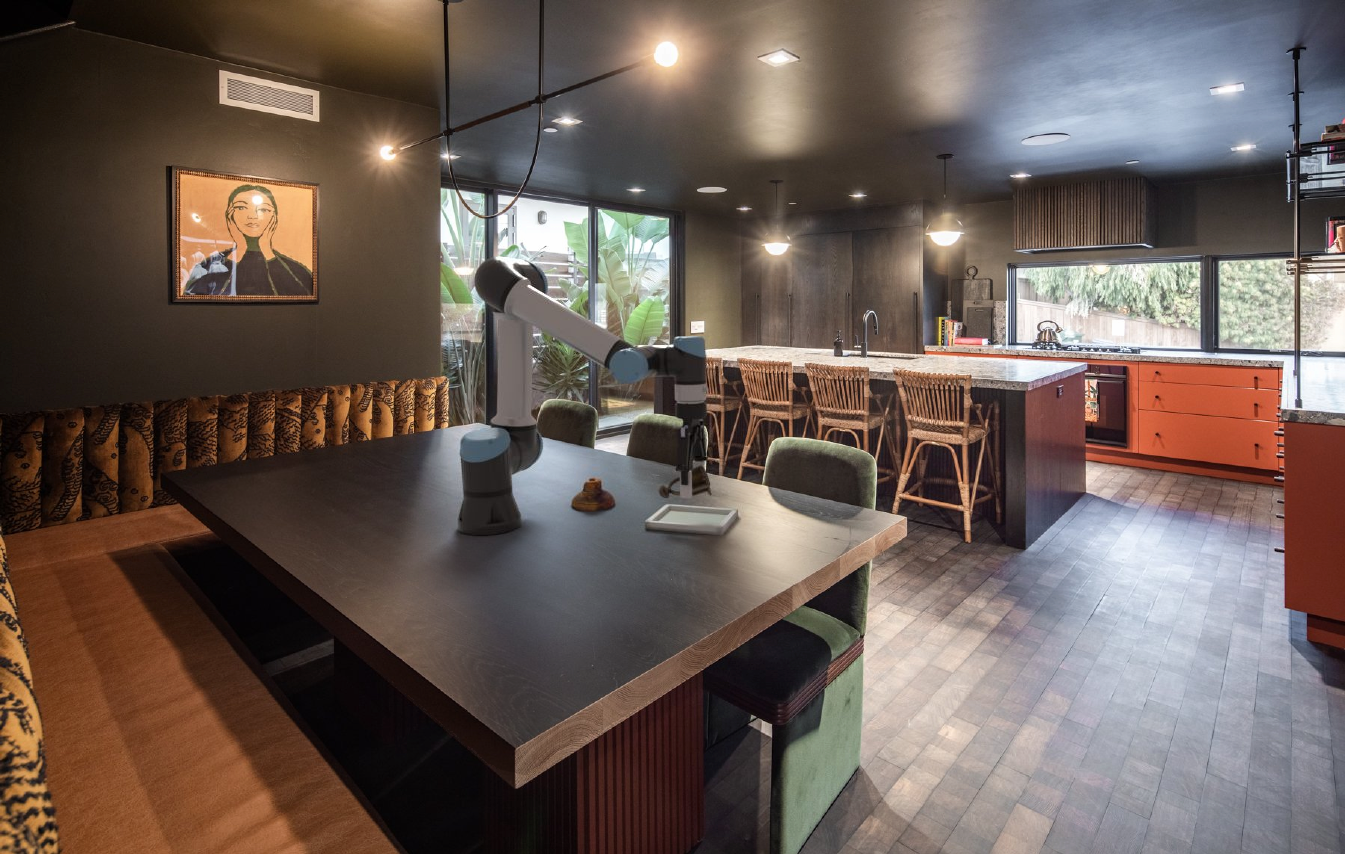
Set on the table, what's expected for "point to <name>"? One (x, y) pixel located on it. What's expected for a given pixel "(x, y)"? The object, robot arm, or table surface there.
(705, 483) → the brown piece
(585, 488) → the bell
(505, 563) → the table surface
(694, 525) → the tray
